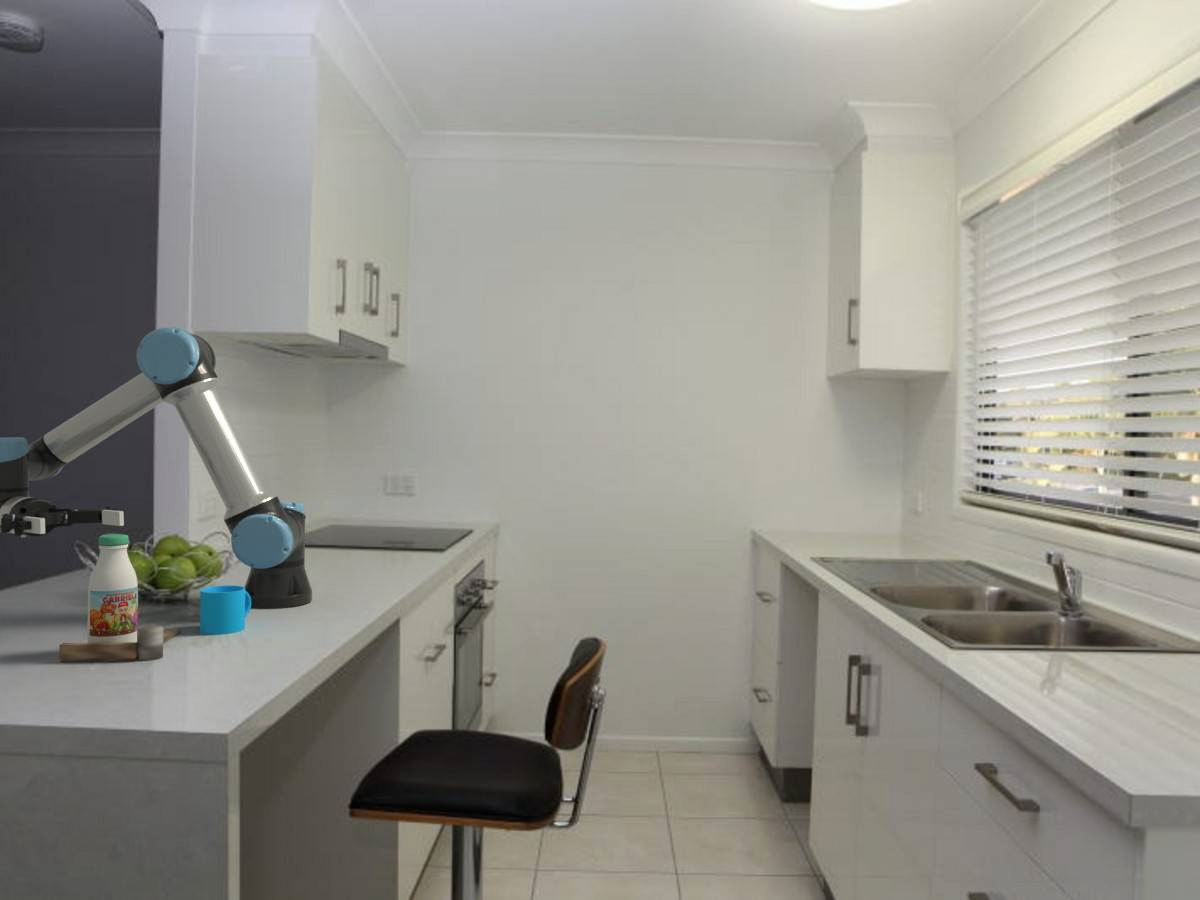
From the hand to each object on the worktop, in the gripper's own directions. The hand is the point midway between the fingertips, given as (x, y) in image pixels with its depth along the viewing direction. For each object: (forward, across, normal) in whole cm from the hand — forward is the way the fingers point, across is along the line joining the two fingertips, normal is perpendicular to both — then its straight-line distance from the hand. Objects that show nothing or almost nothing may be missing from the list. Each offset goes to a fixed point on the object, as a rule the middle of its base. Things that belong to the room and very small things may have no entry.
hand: (83, 522), depth 154 cm
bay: (+9, -4, -23) cm, 25 cm away
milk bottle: (+10, 0, -22) cm, 24 cm away
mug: (+9, -23, -23) cm, 34 cm away
